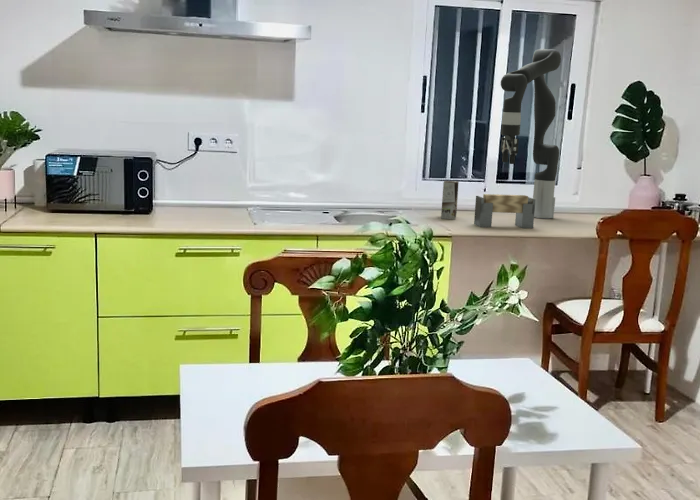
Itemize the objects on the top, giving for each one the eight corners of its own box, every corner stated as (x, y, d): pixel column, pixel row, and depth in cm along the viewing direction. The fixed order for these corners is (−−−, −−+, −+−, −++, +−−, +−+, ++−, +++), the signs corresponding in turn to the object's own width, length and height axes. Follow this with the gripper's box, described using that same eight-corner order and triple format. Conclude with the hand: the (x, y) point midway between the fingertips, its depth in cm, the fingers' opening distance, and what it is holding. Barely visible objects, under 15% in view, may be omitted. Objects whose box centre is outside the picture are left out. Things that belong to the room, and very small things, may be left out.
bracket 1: (479, 227, 310) (481, 198, 308) (473, 224, 318) (476, 195, 315) (491, 227, 311) (493, 198, 308) (485, 224, 318) (487, 196, 316)
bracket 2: (526, 225, 321) (528, 197, 318) (533, 228, 313) (535, 199, 311) (515, 224, 320) (517, 196, 318) (521, 227, 312) (524, 199, 310)
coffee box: (455, 219, 328) (457, 182, 325) (440, 218, 330) (442, 181, 327) (456, 216, 337) (459, 180, 334) (442, 215, 338) (444, 180, 335)
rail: (523, 211, 317) (524, 195, 316) (526, 213, 313) (528, 196, 312) (482, 210, 315) (483, 194, 314) (485, 212, 311) (486, 195, 310)
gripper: (526, 124, 304) (523, 164, 307) (513, 123, 318) (511, 161, 321) (508, 124, 303) (505, 164, 306) (496, 122, 317) (494, 161, 320)
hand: (508, 163), depth 314 cm, fingers open, 8 cm apart
